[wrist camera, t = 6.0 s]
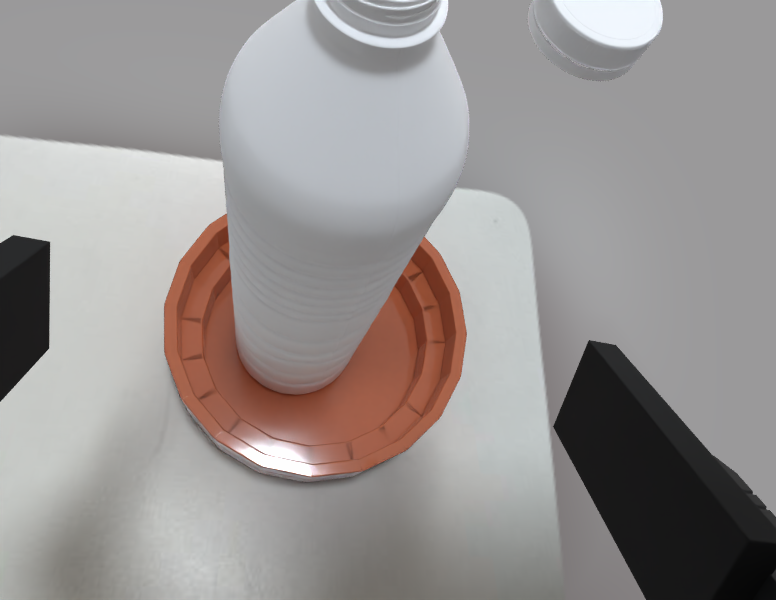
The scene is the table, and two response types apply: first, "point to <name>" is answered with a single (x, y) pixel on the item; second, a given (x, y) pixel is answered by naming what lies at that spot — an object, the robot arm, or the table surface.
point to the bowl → (331, 403)
